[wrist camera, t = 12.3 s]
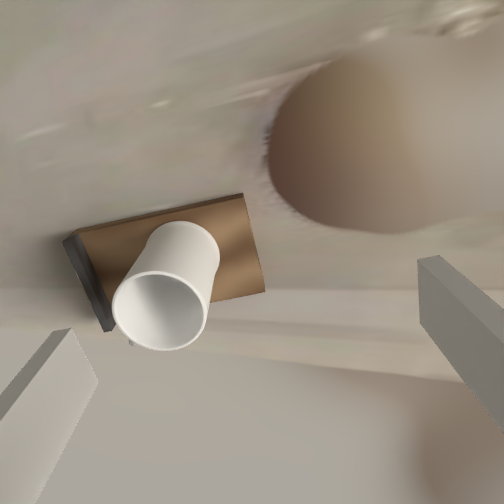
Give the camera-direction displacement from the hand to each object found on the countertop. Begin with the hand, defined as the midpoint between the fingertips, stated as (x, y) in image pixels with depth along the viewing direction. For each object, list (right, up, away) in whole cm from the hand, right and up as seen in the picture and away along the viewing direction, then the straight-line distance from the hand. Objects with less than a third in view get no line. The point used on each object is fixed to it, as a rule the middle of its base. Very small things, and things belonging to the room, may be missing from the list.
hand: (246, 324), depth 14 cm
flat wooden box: (-9, +2, +30) cm, 32 cm away
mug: (-9, +1, +29) cm, 30 cm away
